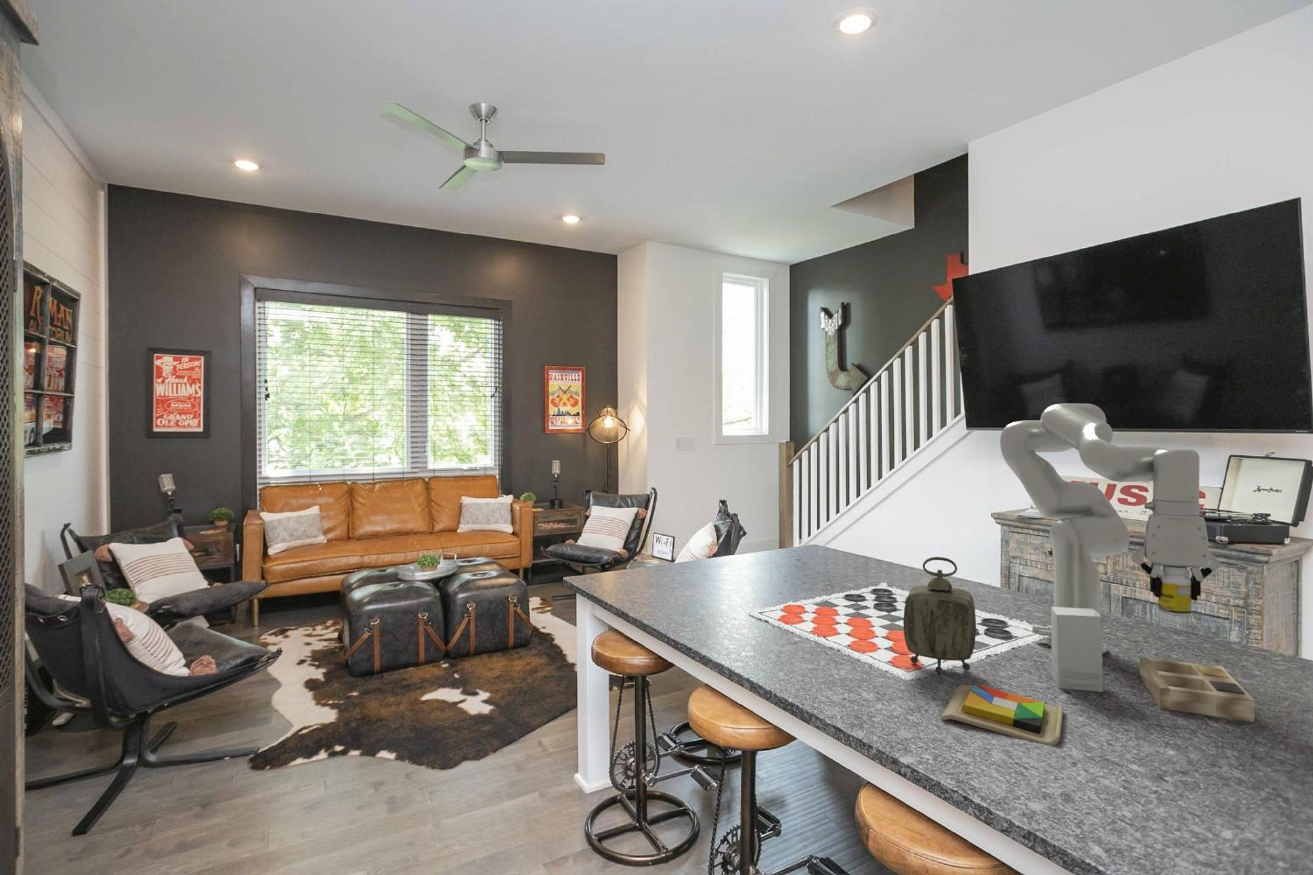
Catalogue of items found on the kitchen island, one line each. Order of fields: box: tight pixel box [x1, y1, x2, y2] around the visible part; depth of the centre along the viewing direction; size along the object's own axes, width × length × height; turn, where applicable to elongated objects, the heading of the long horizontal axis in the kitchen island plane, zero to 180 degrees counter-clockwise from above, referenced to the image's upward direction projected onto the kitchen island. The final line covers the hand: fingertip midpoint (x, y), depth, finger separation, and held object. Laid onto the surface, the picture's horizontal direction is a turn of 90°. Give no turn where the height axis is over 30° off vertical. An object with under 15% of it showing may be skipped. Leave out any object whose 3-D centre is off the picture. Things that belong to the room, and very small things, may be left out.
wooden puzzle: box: [940, 683, 1064, 746], centre depth 127 cm, size 18×19×4 cm
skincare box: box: [1050, 606, 1104, 693], centre depth 141 cm, size 8×7×16 cm
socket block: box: [1139, 656, 1256, 723], centre depth 135 cm, size 14×19×4 cm
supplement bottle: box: [1157, 565, 1192, 617], centre depth 140 cm, size 5×5×10 cm
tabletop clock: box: [902, 556, 977, 675], centre depth 150 cm, size 14×9×25 cm, turn 65°
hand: (1174, 596), depth 140 cm, fingers closed on supplement bottle, 5 cm apart
